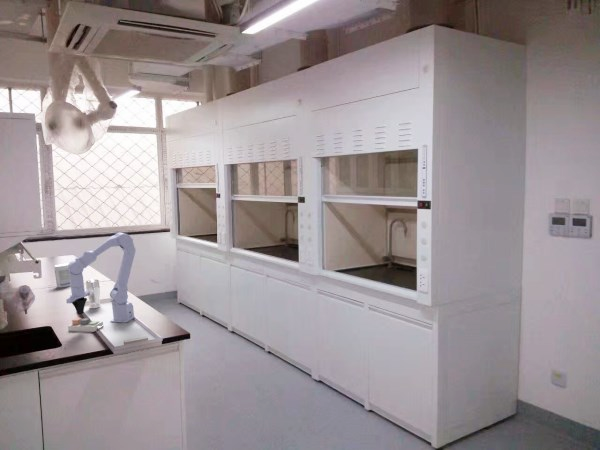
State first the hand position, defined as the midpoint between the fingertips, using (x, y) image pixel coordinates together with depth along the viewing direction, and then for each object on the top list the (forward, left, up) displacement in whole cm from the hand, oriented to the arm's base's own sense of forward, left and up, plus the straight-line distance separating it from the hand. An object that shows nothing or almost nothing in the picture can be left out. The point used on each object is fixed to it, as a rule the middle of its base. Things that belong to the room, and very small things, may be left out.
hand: (80, 313), depth 229 cm
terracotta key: (+3, 0, -5) cm, 6 cm away
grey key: (-2, 0, -5) cm, 6 cm away
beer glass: (+18, -34, -8) cm, 39 cm away
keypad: (-2, 0, -8) cm, 8 cm away
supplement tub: (+75, -79, -8) cm, 109 cm away
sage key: (-6, 0, -7) cm, 9 cm away
